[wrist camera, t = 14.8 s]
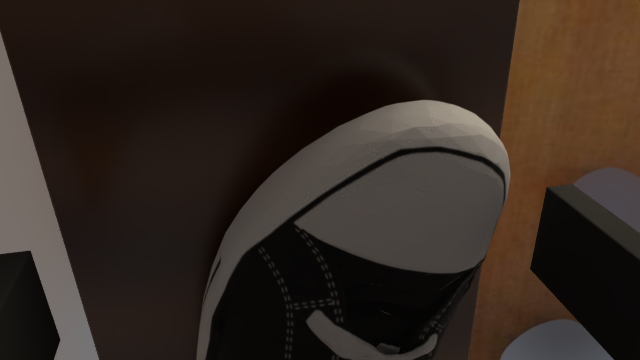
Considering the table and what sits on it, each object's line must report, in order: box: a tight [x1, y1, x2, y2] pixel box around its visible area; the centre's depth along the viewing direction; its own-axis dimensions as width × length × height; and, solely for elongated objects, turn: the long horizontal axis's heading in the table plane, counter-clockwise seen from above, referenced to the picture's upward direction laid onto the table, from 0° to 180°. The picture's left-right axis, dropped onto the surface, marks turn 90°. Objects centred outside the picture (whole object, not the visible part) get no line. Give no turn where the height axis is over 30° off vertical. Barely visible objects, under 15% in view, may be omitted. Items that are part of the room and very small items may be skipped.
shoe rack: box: [0, 0, 520, 360], centre depth 35 cm, size 32×14×36 cm, turn 2°
